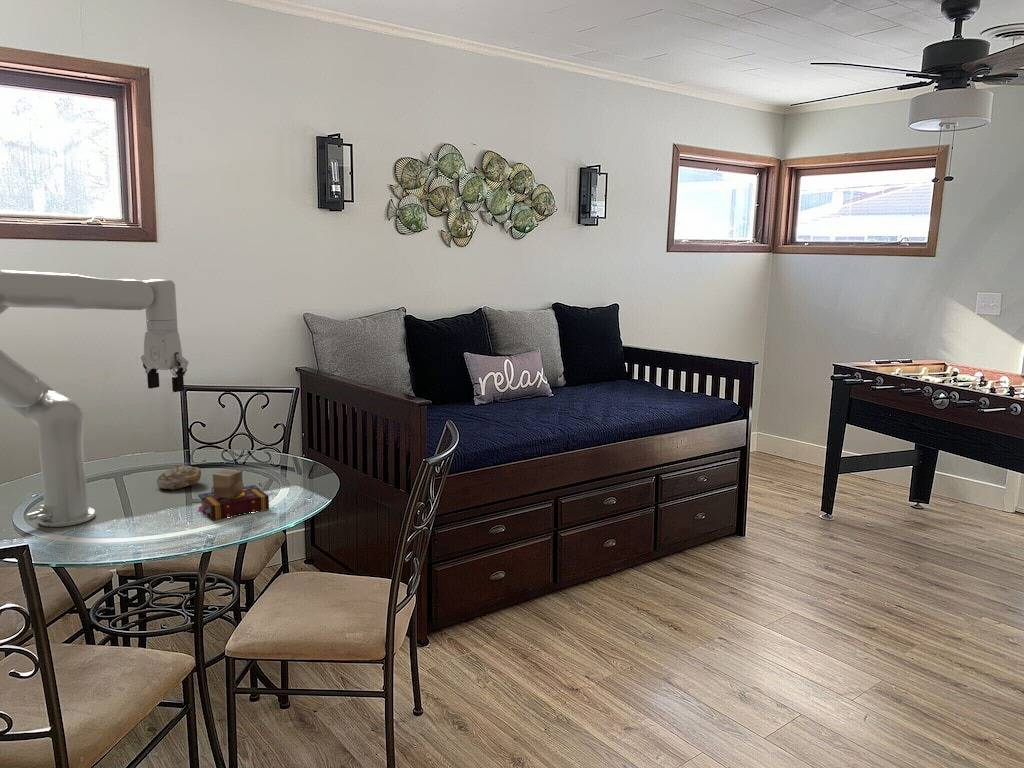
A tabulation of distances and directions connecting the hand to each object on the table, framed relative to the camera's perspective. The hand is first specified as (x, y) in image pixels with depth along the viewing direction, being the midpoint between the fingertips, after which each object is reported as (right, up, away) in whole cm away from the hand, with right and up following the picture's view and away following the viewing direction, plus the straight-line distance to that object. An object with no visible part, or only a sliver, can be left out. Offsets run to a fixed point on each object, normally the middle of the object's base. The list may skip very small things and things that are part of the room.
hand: (166, 389), depth 212 cm
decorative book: (+19, -32, -4) cm, 38 cm away
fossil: (-3, -28, +16) cm, 33 cm away
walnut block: (+19, -28, -6) cm, 34 cm away
